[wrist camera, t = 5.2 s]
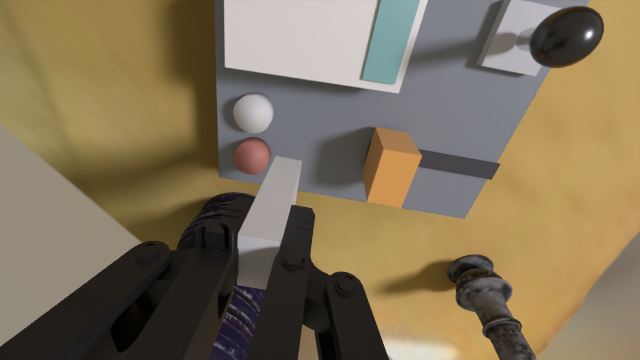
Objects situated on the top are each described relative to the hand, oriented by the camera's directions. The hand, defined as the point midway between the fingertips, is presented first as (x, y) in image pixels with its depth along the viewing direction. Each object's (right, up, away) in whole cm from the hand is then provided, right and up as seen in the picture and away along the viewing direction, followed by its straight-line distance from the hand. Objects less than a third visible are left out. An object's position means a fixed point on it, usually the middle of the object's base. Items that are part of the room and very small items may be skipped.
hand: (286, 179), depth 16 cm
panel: (+6, +8, +7) cm, 12 cm away
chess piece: (+20, -11, +17) cm, 29 cm away
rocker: (+2, +9, -1) cm, 9 cm away
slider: (+7, +2, +5) cm, 9 cm away
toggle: (+14, +8, 0) cm, 17 cm away
